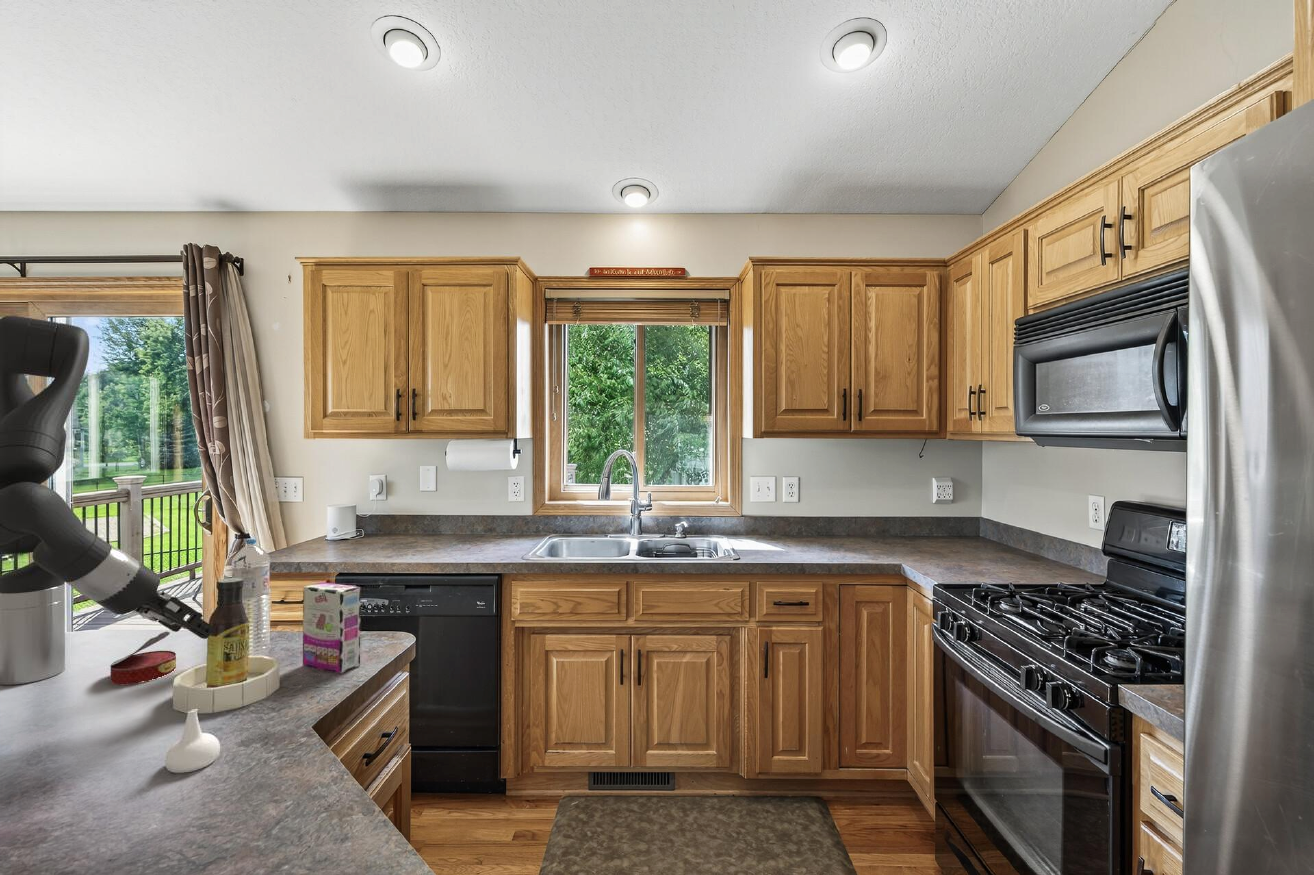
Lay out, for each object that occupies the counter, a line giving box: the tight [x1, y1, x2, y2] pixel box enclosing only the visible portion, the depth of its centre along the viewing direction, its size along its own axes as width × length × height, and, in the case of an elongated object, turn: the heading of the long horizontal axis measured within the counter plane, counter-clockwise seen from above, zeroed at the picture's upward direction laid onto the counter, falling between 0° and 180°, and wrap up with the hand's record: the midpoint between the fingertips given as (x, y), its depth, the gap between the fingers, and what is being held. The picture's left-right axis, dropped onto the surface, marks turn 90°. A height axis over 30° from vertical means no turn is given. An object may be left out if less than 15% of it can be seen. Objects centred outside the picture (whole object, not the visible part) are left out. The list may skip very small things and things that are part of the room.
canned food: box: [109, 631, 177, 685], centre depth 119 cm, size 11×10×10 cm
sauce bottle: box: [206, 577, 249, 688], centre depth 110 cm, size 7×6×20 cm
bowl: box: [172, 655, 280, 714], centre depth 110 cm, size 16×16×4 cm
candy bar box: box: [302, 581, 362, 674], centre depth 124 cm, size 11×5×16 cm, turn 68°
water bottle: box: [231, 538, 271, 656], centre depth 128 cm, size 7×7×25 cm
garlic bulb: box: [164, 709, 221, 774], centre depth 88 cm, size 6×6×8 cm
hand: (194, 630), depth 105 cm, fingers open, 8 cm apart
